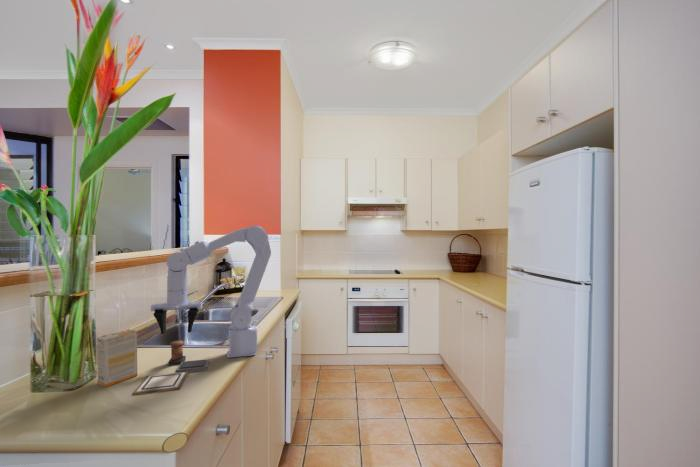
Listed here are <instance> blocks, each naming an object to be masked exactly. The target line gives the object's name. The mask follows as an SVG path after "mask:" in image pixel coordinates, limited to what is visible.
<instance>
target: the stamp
mask: <svg viewBox="0 0 700 467" xmlns="http://www.w3.org/2000/svg"><path fill="white" fill-rule="evenodd" d="M183 346H184V340H174V341H171V342H170V347H171V350H170V351H171V354H170V355H171V358H170V359H169V360H168V361H167V362H168V364H167V365H168V366H175V365H176V366H177V365H178V366H179V365H180V364H181V362H185V361H186V355H184V352H183V351H184V348H183Z"/></svg>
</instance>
